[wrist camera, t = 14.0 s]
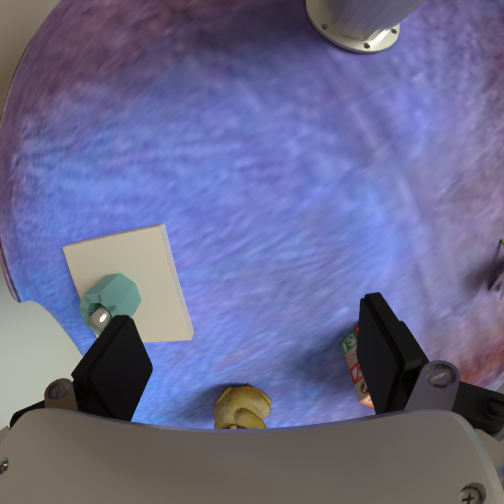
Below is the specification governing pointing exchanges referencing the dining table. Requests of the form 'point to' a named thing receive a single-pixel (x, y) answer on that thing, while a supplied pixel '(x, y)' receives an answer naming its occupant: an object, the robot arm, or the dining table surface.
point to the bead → (110, 298)
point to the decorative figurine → (241, 408)
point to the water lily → (503, 275)
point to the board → (135, 279)
